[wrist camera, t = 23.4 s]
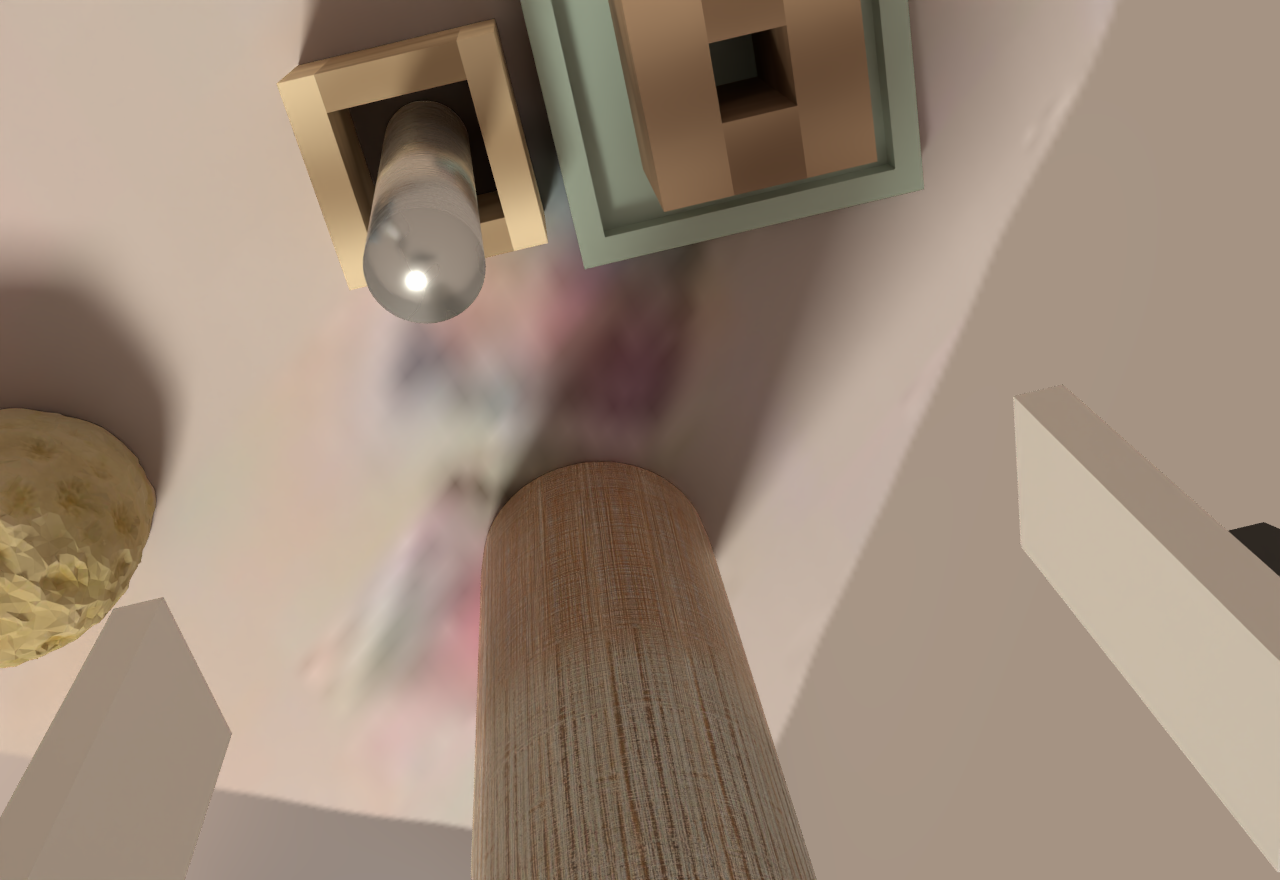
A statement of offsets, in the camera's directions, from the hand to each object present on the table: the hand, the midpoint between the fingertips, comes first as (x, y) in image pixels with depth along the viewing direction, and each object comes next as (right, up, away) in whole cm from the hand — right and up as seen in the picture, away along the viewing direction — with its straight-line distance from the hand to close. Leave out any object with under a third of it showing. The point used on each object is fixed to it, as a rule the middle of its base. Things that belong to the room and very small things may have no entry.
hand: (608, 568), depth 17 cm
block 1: (-7, +13, +23) cm, 27 cm away
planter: (-1, -3, +32) cm, 32 cm away
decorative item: (-24, 0, +28) cm, 36 cm away
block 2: (+3, +16, +22) cm, 27 cm away
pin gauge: (-7, +13, +23) cm, 27 cm away
